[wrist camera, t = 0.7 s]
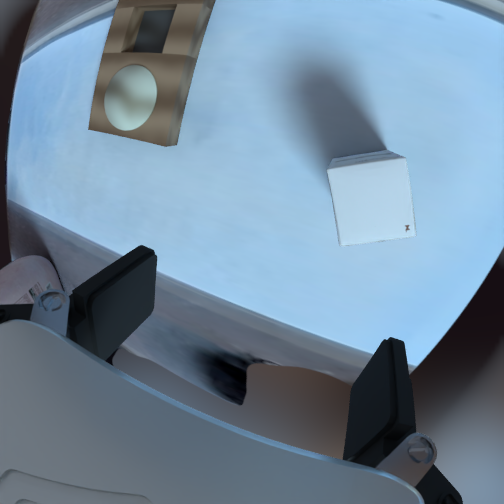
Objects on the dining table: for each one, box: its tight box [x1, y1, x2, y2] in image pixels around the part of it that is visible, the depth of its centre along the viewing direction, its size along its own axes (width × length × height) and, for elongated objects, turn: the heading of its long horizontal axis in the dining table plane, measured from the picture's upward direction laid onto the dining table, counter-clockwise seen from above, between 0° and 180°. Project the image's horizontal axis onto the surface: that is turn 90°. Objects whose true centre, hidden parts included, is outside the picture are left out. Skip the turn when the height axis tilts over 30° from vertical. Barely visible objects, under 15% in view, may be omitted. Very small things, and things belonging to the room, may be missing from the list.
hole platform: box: [88, 0, 215, 147], centre depth 35 cm, size 24×16×3 cm, turn 165°
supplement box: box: [327, 150, 416, 247], centre depth 29 cm, size 7×7×13 cm
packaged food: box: [0, 255, 63, 305], centre depth 50 cm, size 22×20×30 cm
